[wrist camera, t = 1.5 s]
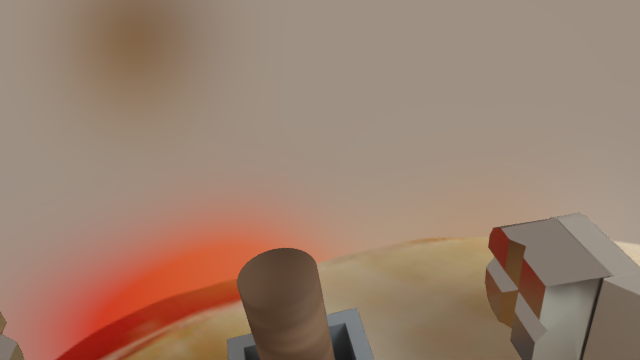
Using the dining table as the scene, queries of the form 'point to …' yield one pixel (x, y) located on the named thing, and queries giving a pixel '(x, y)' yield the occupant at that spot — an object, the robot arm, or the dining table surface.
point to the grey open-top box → (344, 334)
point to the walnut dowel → (285, 306)
